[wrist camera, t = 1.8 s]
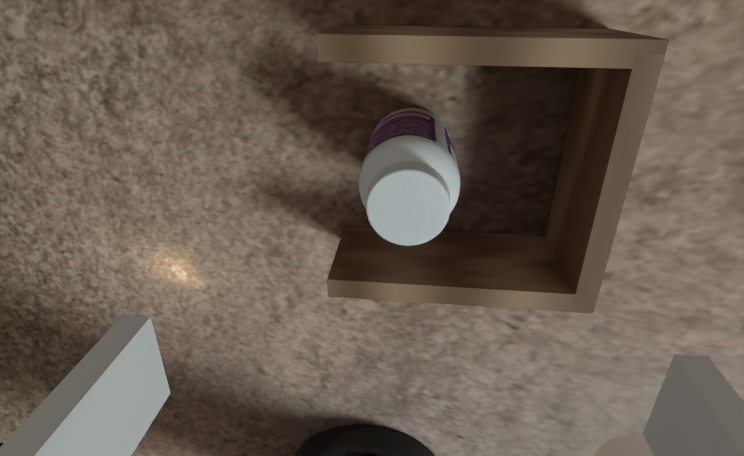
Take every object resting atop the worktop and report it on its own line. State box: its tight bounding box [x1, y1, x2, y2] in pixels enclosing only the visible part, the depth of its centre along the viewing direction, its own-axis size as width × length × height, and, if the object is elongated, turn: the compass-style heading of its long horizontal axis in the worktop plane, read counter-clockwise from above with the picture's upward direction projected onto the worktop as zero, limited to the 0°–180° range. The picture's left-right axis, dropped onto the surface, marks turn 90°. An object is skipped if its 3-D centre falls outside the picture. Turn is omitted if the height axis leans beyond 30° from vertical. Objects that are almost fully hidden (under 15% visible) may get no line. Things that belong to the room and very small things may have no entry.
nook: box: [317, 25, 669, 313], centre depth 27 cm, size 15×14×7 cm
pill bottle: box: [359, 108, 460, 246], centre depth 26 cm, size 5×5×10 cm
